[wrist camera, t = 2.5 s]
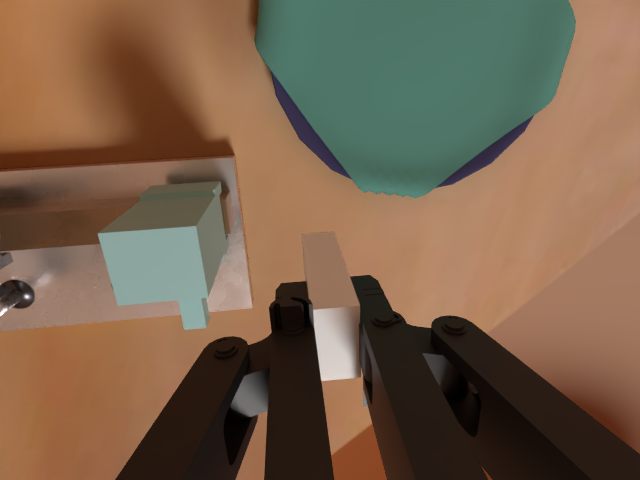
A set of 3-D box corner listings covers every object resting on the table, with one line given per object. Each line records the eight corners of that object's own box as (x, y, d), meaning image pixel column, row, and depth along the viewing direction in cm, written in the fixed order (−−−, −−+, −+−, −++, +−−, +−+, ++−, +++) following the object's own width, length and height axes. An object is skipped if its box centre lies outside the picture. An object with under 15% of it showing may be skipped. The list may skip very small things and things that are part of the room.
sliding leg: (180, 292, 29) (137, 377, 20) (157, 181, 26) (95, 226, 17) (238, 287, 29) (221, 368, 21) (222, 177, 26) (194, 218, 17)
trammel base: (-1, 323, 30) (-137, 435, 20) (-63, 173, 26) (-276, 222, 16) (253, 300, 32) (241, 394, 22) (234, 154, 27) (209, 189, 17)
